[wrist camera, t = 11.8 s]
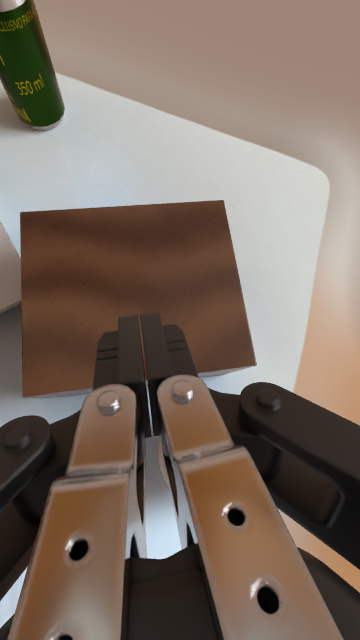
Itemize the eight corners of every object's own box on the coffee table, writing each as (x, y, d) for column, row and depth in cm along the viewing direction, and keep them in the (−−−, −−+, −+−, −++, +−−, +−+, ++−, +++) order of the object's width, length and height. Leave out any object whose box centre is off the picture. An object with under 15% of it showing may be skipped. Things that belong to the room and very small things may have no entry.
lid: (24, 218, 23) (19, 211, 22) (221, 205, 25) (223, 199, 24) (27, 397, 19) (22, 397, 19) (253, 366, 21) (257, 365, 21)
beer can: (48, 89, 35) (-1, -61, 24) (75, 118, 35) (38, -20, 23) (8, 108, 34) (-64, -39, 22) (35, 140, 33) (-25, 4, 22)
